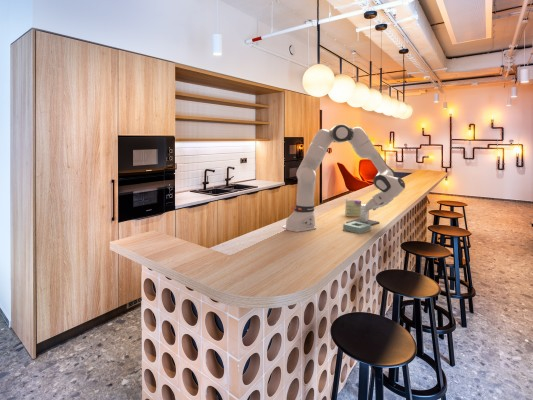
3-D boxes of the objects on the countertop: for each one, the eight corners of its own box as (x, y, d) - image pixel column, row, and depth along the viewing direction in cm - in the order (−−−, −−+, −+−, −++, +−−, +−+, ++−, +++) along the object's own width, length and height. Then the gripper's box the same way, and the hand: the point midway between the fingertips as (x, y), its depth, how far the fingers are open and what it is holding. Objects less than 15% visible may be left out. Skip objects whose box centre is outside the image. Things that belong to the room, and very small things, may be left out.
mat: (364, 227, 212) (364, 226, 212) (346, 223, 222) (346, 222, 222) (379, 223, 223) (379, 221, 223) (361, 219, 234) (361, 218, 234)
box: (359, 215, 248) (359, 199, 245) (360, 216, 242) (361, 200, 240) (345, 214, 249) (345, 199, 246) (346, 216, 243) (346, 200, 241)
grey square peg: (365, 223, 219) (366, 205, 217) (359, 222, 222) (360, 204, 220) (368, 222, 222) (369, 204, 219) (363, 221, 225) (364, 204, 222)
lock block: (359, 233, 198) (359, 228, 198) (343, 229, 207) (343, 224, 207) (370, 230, 206) (371, 224, 206) (354, 226, 215) (354, 221, 214)
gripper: (389, 192, 217) (375, 204, 226) (372, 195, 204) (357, 208, 213) (395, 199, 214) (380, 212, 223) (378, 204, 201) (363, 216, 210)
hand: (369, 210), depth 218 cm, fingers open, 8 cm apart
